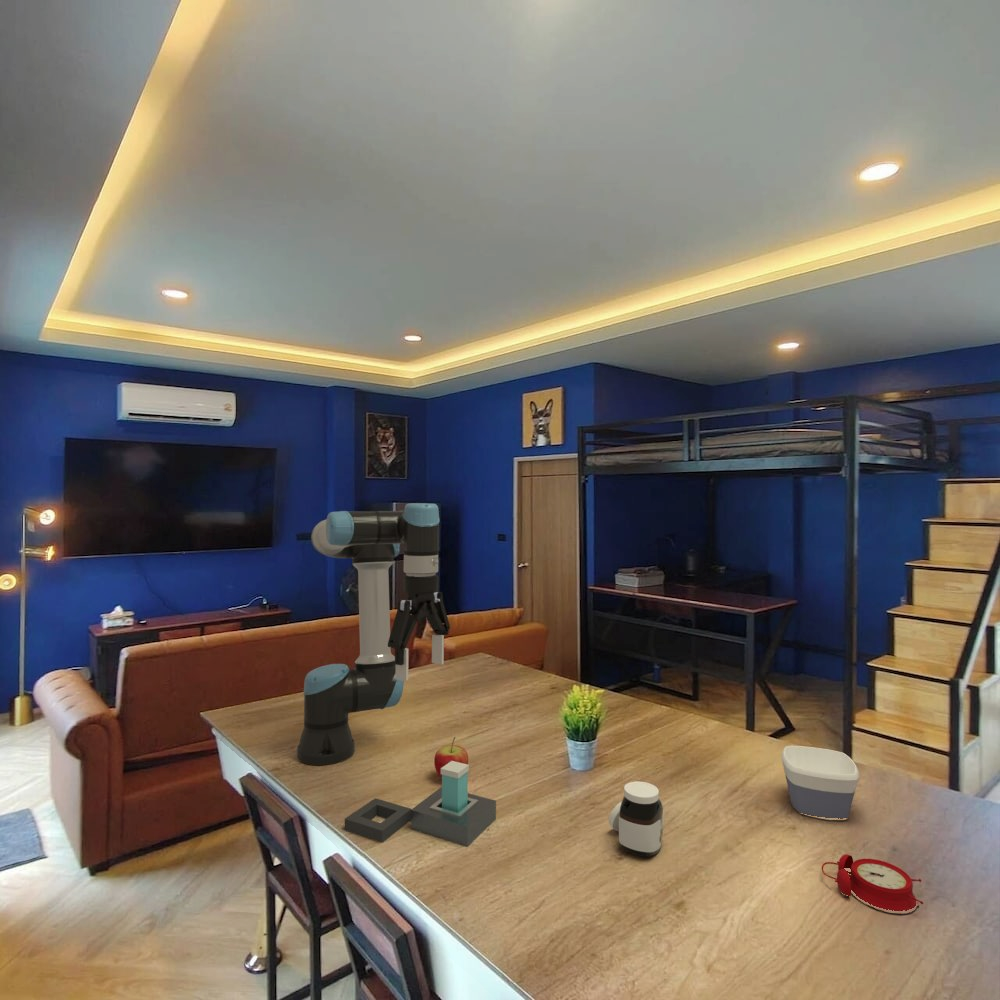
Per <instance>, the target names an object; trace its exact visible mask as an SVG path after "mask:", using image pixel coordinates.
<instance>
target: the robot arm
mask: <svg viewBox="0 0 1000 1000" xmlns="http://www.w3.org/2000/svg"><path fill="white" fill-rule="evenodd" d="M439 512H440V511H439V506H438V505H437V504H436V503H430V502H429V503H426V502H423V503H420V502H416V503H411V502H410V503H406V504H405V506H404V509H402V510H379V511H355V510H354V511H352V510H351V511H347V510H339V511H331V512H329V513H328V515H327V517H326V519H324V520H320V521H319V522H318V523H317V524H316V525H314V528H313V529H312V531H311V535H310V541H311V544H312V546H313V548H314V550H316V551H317V552H319V553H320V554H322V555H324V556H326V557H329V558H335V559H351V560H352V566H353V567H354V568H356V569H357V572H358V574H357V575H358V579H357V581H358V611H359V612H358V615H359V616H358V617H359V620H358V621H359V656H358V657H357V659H356V660H355V661H354V668H349V666H348V665H347V664H345V663H330V664H326V665H322V666H319V667H316V668H314V669H312V670H310V671H308V673H306V675H305V678H304V684H303V699H304V700H303V705H304V706H303V708H304V709H303V711H304V712H303V720H304V721H303V728H302V729H303V730H302V734H301V735H300V739H299V743H298V745H297V748H296V757H297V760H298V761H299V762H301V763H303V764H306V765H310V766H311V765H312V766H325V765H333V764H337V763H339V762H343V761H345V760H348V759H349V758H351V757H352V756H353V755H354V754H355V751H356V750H355V748H356V747H355V740H354V738H353V735H352V731H351V729H350V725H349V714H350V713H351V714H352V713H357V712H365V711H371V710H372V711H373V710H384V709H386V708H391V707H395V706H397V705H398V704H399V702H400V701H401V698H402V695H403V692H404V685H405V684H404V683H405V682H407V681H408V680H409V648H407V646H408V643H409V641H410V638H411V637H412V634H413V633H414V632H413V631H414V630H415V627H416V624H417V623H418V622H419V621H420V620H421V619H422V618H426V620H427V621H428V623H429V625H430V627H431V629H432V630H433V632H434V633H433V634H431V663H432V664H434V665H435V664H436V665H441V666H442V665H444V664H445V663H444V657H445V654H444V653H445V652H444V651H445V650H444V648H445V635H446V636H448V635H449V633H450V629H451V624H450V621H449V618H448V615H447V611H446V608H445V604H444V597H443V592H442V591H439V576H438V572H439V550H440V547H439V543H440V539H439V538H440V522H441V521H440V520H441V519H440V513H439ZM401 544H403V573H405V574H404V576H403V591H404V592H405V594H407V599H404V600H403V599H398V601H397V605H396V606H397V608H396V614H395V617H394V620H393V625H392V628H391V618H390V617H391V616H390V615H391V613H390V611H391V610H390V582H389V581H390V580H389V577H390V576H389V575H390V574H389V568H390V567H391V566H392V565H393V564H394V558H395V557H398V556H399V554H400V545H401ZM391 649H394V654H393V653H392V651H391Z"/></svg>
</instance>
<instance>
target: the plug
mask: <svg viewBox="0 0 1000 1000" xmlns="http://www.w3.org/2000/svg"><path fill="white" fill-rule="evenodd" d="M469 771H470V764H468V765H467V764H463V763H459V762H455V761H451V762H449V763H448V764H446V765H445V766H444V767H442V768H441V774H442V779H441V787H442V808H443V809H447V810H450V811H454V812H457V813H459V812H460V811H461V810H462V809H463V808H465V807H466V806H467V805H468V791H469V790H468V789H469V788H468V784H469V783H468V778H469V776H468V772H469Z"/></svg>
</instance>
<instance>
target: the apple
mask: <svg viewBox="0 0 1000 1000" xmlns="http://www.w3.org/2000/svg"><path fill="white" fill-rule="evenodd" d="M455 738H456V736H454V737H453V741H452V744H450V745H445V746H442V747H440V748H439V749H438V750H437V751H436V752H435V754H434V762H433V763H434V768H435V771H436V774H437V775H438V777H439V778H440V779H441V780H442V774H441V768H442V767H444V766H445V765H446V764H448V763H449V762H451V761H455V762H459V763H463V764H467V765H469V755H468V751H467V750H466V749H465V748H464V747H462V746H460V745H455V744H454V742H455Z"/></svg>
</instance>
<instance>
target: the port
mask: <svg viewBox="0 0 1000 1000" xmlns="http://www.w3.org/2000/svg"><path fill="white" fill-rule="evenodd" d="M495 820H497V800H495V799H492V798H488V797H484V796H480V795H476V794H472V793H468V805H467V806H466V807H465V808H463V809H462V810H461V811H460V812H459V813H457V812H454V811H450V810H447V809H443V808H442V786H440V787H439V788H438V789H436V790H435V791H434V792H433V793H431V794H430V795H428V796H427V797H426V798H425V799H423V800H422V801H421V802H419V803H418V804H417V805H415V806H414V807H412V808H411V821H410V829H411V830H413V831H417V832H420V833H423V834H427V835H429V836H432V837H437V838H440V839H442V840H446V841H448V842H453V843H456V844H459V845H462V846H465V847H469V846H470V845H471V844H472V843H473V842H474V841H475V840H476V839H477V838H478V837H480V835H481V834H482V833H483V832H484V831H485V830H486V829H487V828H489V826H490V825H492V823H493V822H494V821H495Z"/></svg>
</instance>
